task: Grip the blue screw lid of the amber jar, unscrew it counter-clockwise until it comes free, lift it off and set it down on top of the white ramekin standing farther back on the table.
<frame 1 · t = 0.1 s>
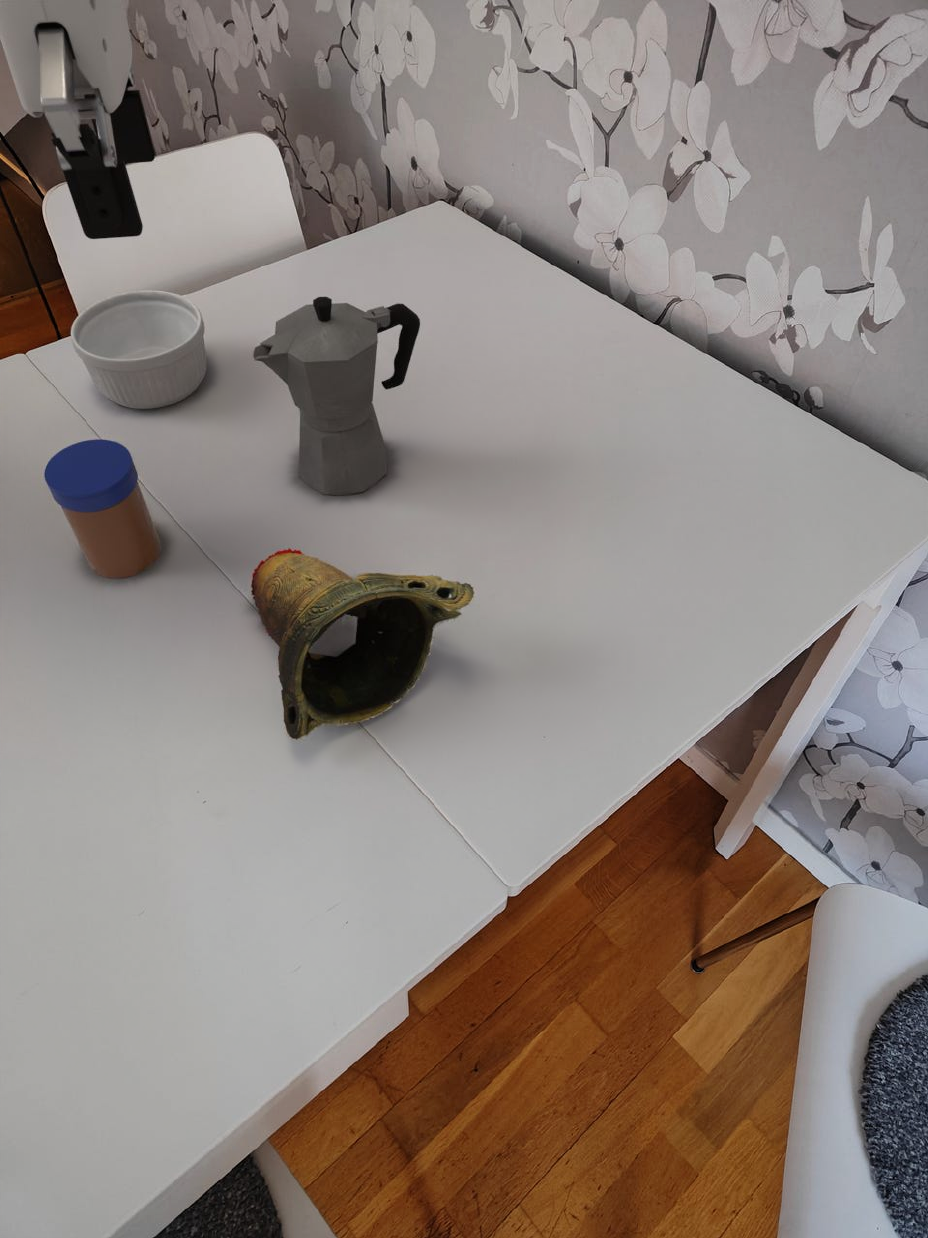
hand: (123, 195, 53), 32 cm above the table, tool pointing down, fingers open, 9 cm apart
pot: (353, 666, 71), on the table
lid: (89, 469, 71), point 10 cm above the table, screwed on, not yet turned
jar: (124, 552, 78), on the table
ramekin: (154, 381, 95), on the table
coffeepot: (353, 464, 87), on the table
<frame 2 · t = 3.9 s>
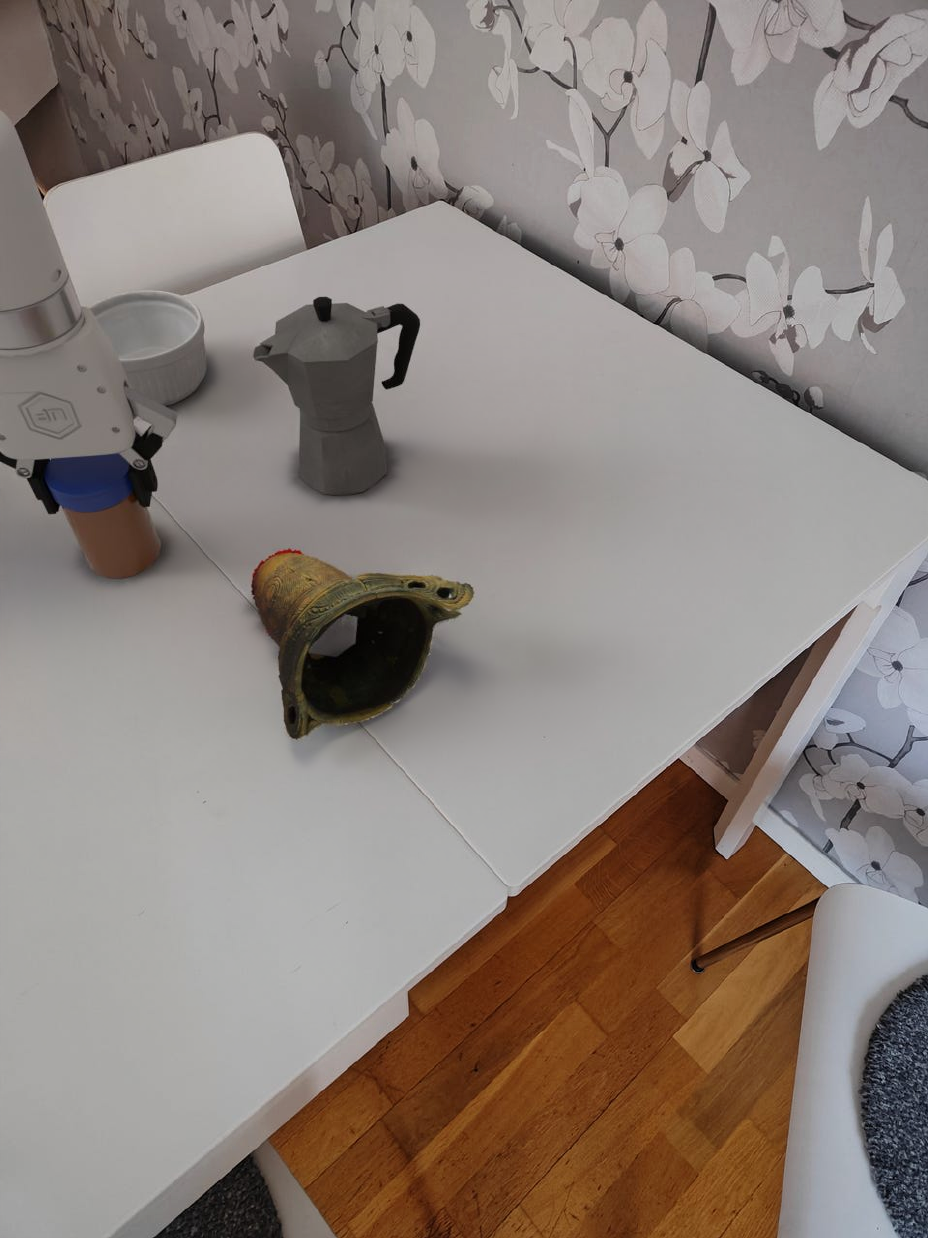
hand: (101, 498, 73), 7 cm above the table, tool pointing down, fingers closed on lid, 6 cm apart
lid: (89, 469, 71), point 10 cm above the table, screwed on, not yet turned, touching gripper
everything else where it was.
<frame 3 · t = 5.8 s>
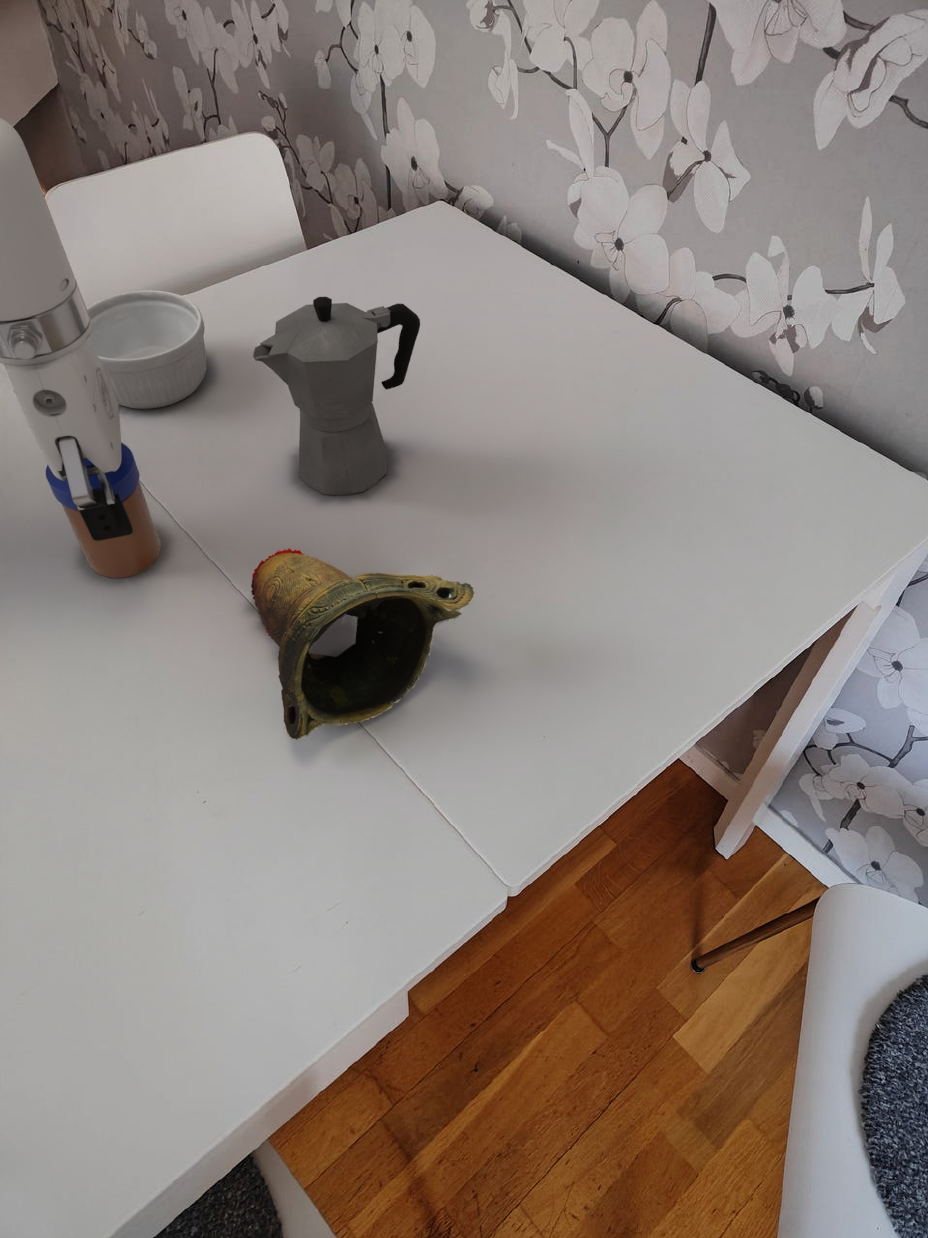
hand: (112, 504, 74), 6 cm above the table, tool pointing down, fingers closed on lid, 6 cm apart
lid: (91, 468, 71), point 10 cm above the table, turned 98° so far, risen 0.1 cm, still on its thread, touching gripper
jar: (124, 551, 78), on the table, touching gripper
everything else where it was.
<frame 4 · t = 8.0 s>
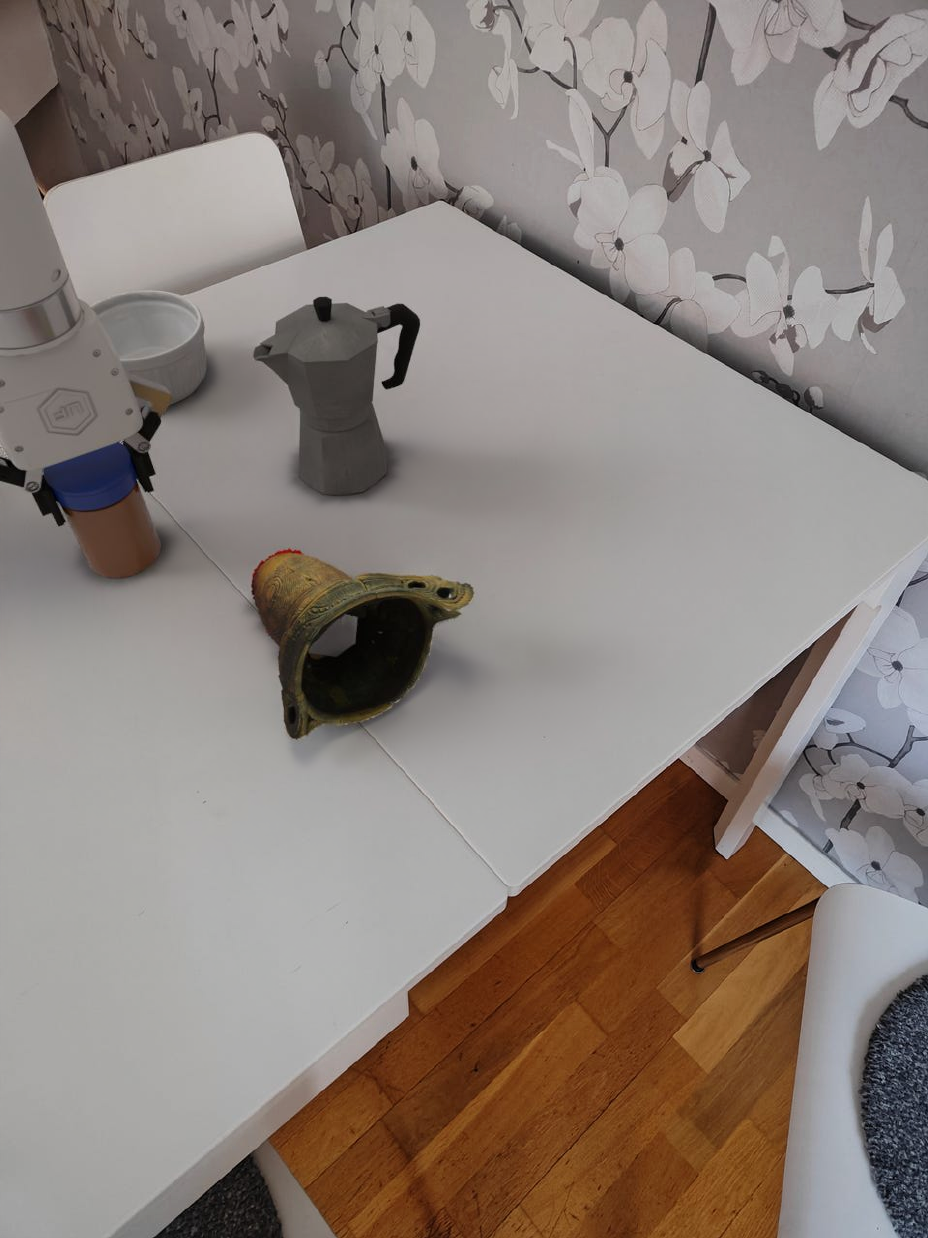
hand: (101, 497, 73), 7 cm above the table, tool pointing down, fingers closed on lid, 6 cm apart
lid: (88, 468, 71), point 10 cm above the table, turned 124° so far, risen 0.2 cm, still on its thread, touching gripper
jar: (124, 552, 78), on the table
everything else where it was.
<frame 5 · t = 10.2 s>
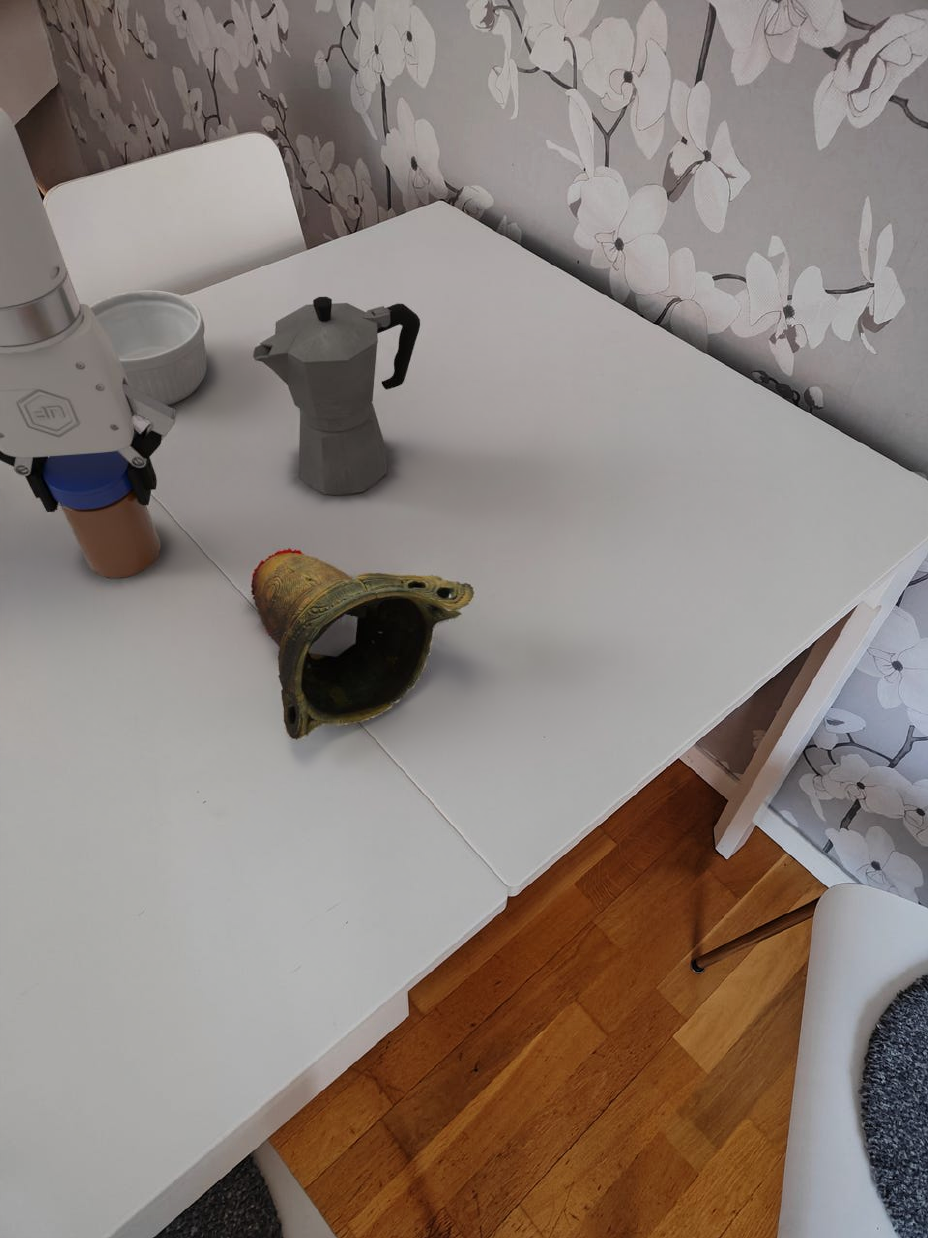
hand: (100, 496, 73), 7 cm above the table, tool pointing down, fingers closed on lid, 6 cm apart
lid: (88, 467, 71), point 10 cm above the table, turned 196° so far, risen 0.3 cm, still on its thread, touching gripper
everything else where it was.
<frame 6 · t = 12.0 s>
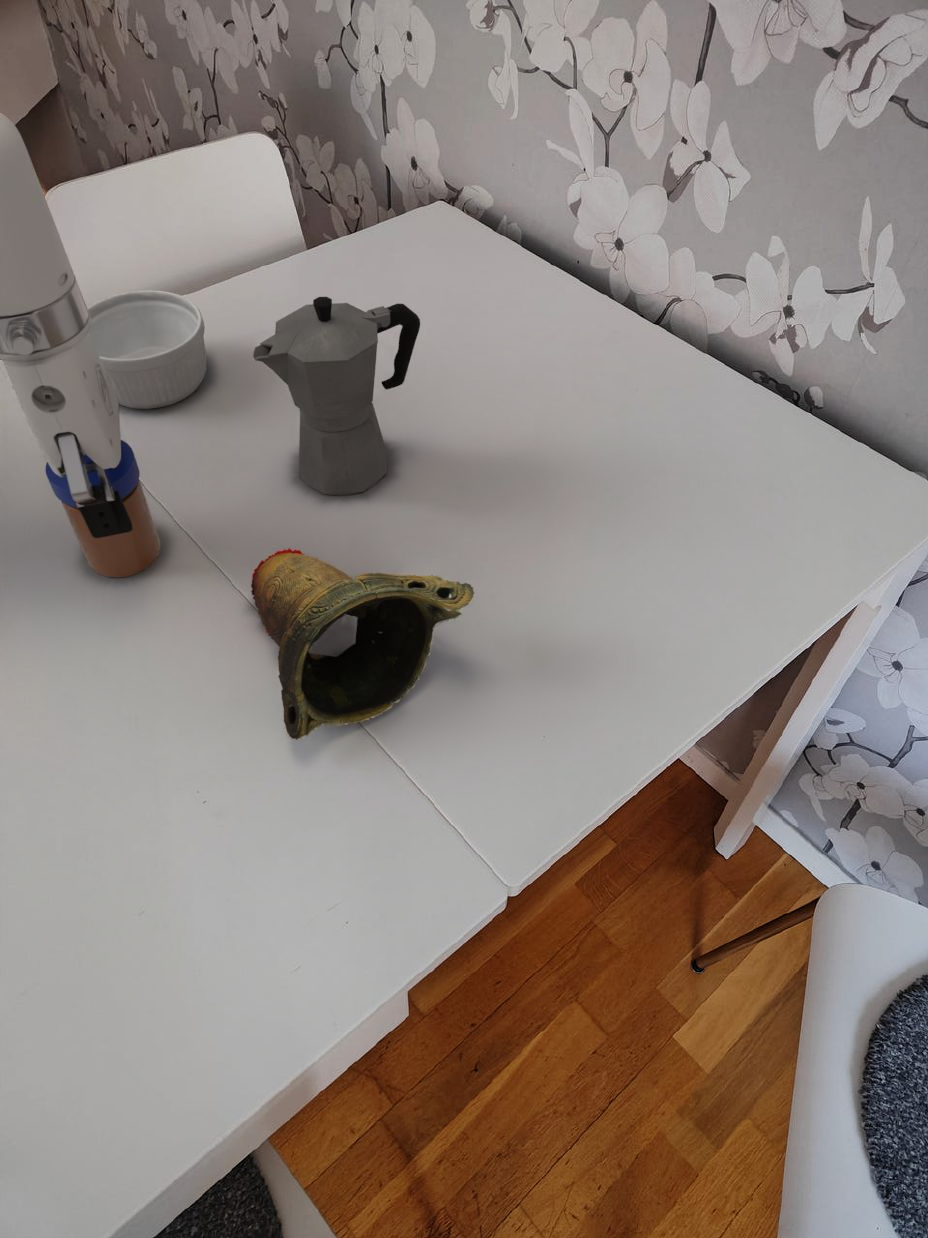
hand: (111, 501, 74), 6 cm above the table, tool pointing down, fingers closed on lid, 6 cm apart
lid: (91, 465, 71), point 10 cm above the table, turned 295° so far, risen 0.4 cm, still on its thread, touching gripper
jar: (124, 551, 78), on the table, touching gripper
everything else where it was.
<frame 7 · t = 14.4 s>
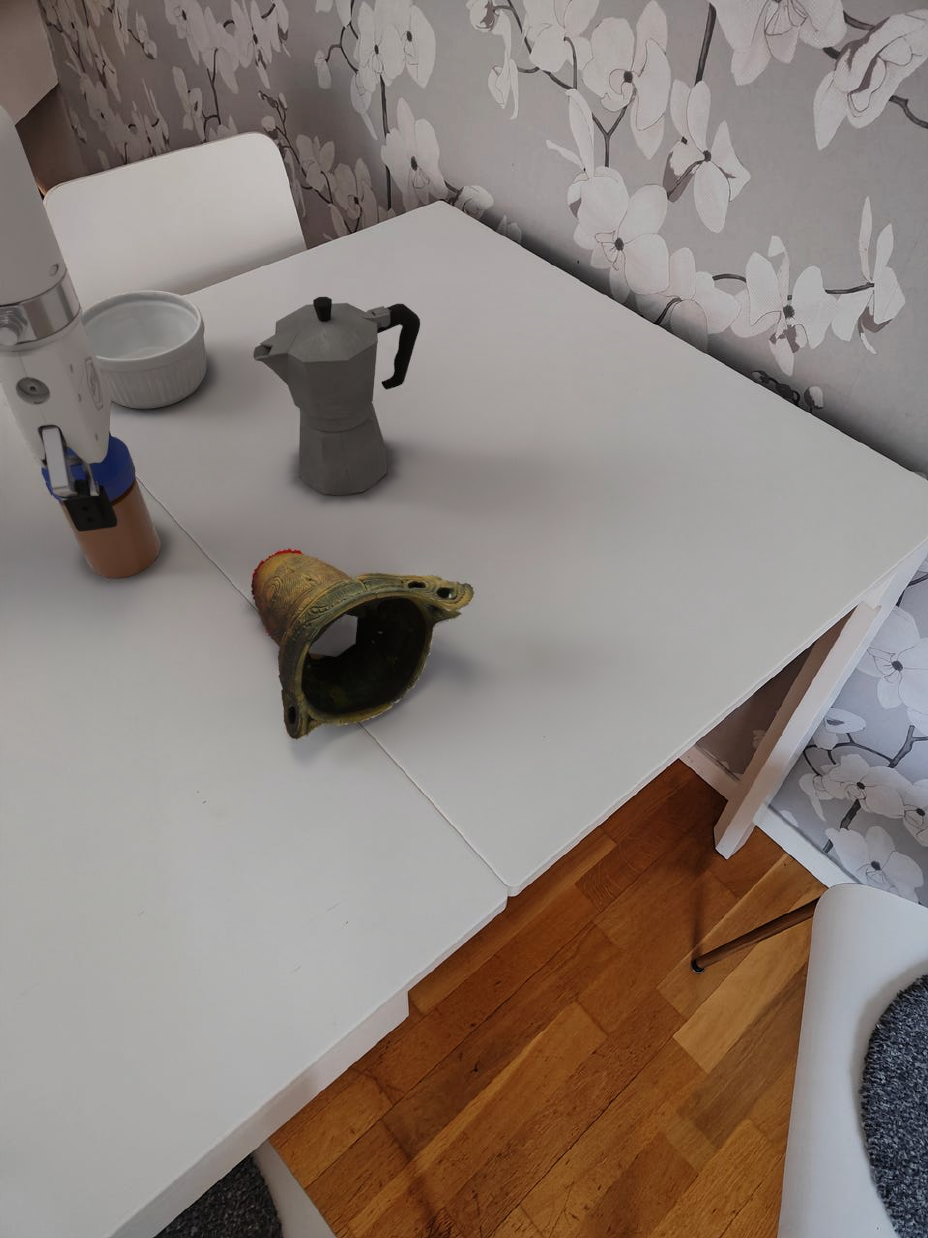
hand: (99, 494, 73), 7 cm above the table, tool pointing down, fingers closed on lid, 6 cm apart
lid: (87, 464, 70), point 10 cm above the table, off its thread, touching gripper
jar: (124, 552, 78), on the table
everything else where it was.
when the fingers open (8 cm above the table, at t = 21.9 s): lid drops 3 cm, resting on ramekin.
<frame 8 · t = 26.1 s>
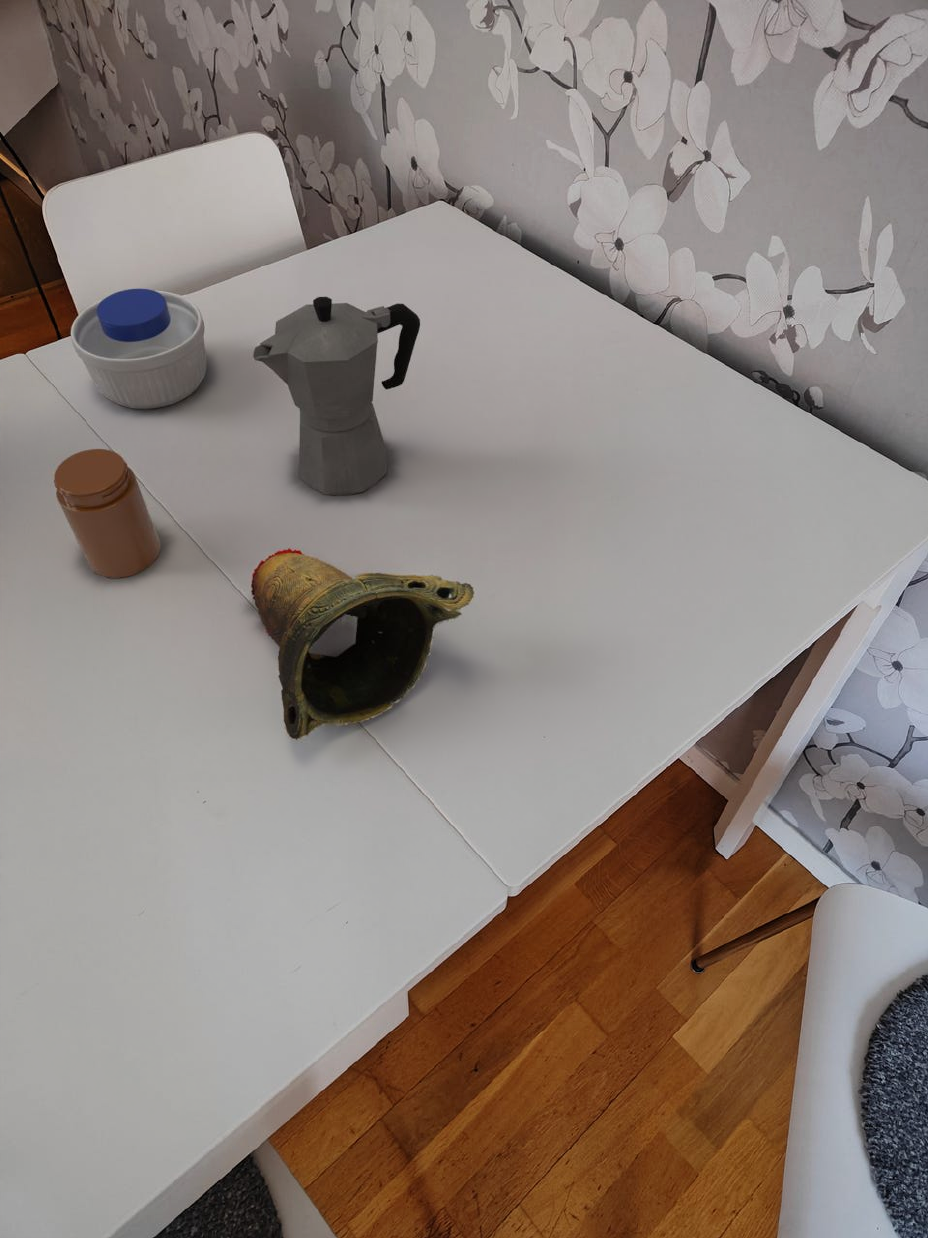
lid: (132, 309, 88), point 8 cm above the table, off its thread, touching ramekin
ramekin: (154, 381, 95), on the table, touching lid
everything else where it was.
at the end: lid came off its thread; lid inside the target area on the ramekin (0.0 cm from its centre), point 8.7 cm above the ramekin's base; the gripper is holding nothing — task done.
